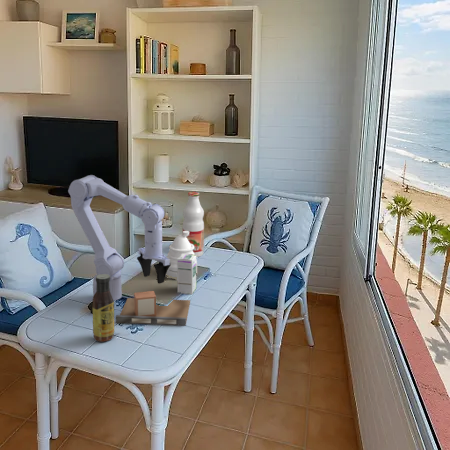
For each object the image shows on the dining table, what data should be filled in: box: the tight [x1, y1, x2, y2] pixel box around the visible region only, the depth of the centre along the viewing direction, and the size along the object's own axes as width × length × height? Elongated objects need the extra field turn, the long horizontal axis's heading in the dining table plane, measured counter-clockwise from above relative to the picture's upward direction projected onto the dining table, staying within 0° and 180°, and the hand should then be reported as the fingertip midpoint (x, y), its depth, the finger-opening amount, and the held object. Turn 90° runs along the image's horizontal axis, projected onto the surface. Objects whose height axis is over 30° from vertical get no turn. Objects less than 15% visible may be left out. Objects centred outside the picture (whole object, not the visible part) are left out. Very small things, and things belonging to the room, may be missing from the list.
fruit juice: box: [182, 191, 205, 258], centre depth 216 cm, size 9×9×28 cm
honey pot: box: [166, 230, 198, 277], centre depth 196 cm, size 13×13×18 cm
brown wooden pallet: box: [115, 297, 191, 327], centre depth 164 cm, size 22×18×3 cm
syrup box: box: [176, 254, 197, 296], centre depth 179 cm, size 6×6×14 cm
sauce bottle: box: [92, 274, 115, 343], centre depth 147 cm, size 6×6×20 cm
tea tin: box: [133, 290, 157, 316], centre depth 161 cm, size 4×6×7 cm
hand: (153, 279), depth 168 cm, fingers open, 7 cm apart
